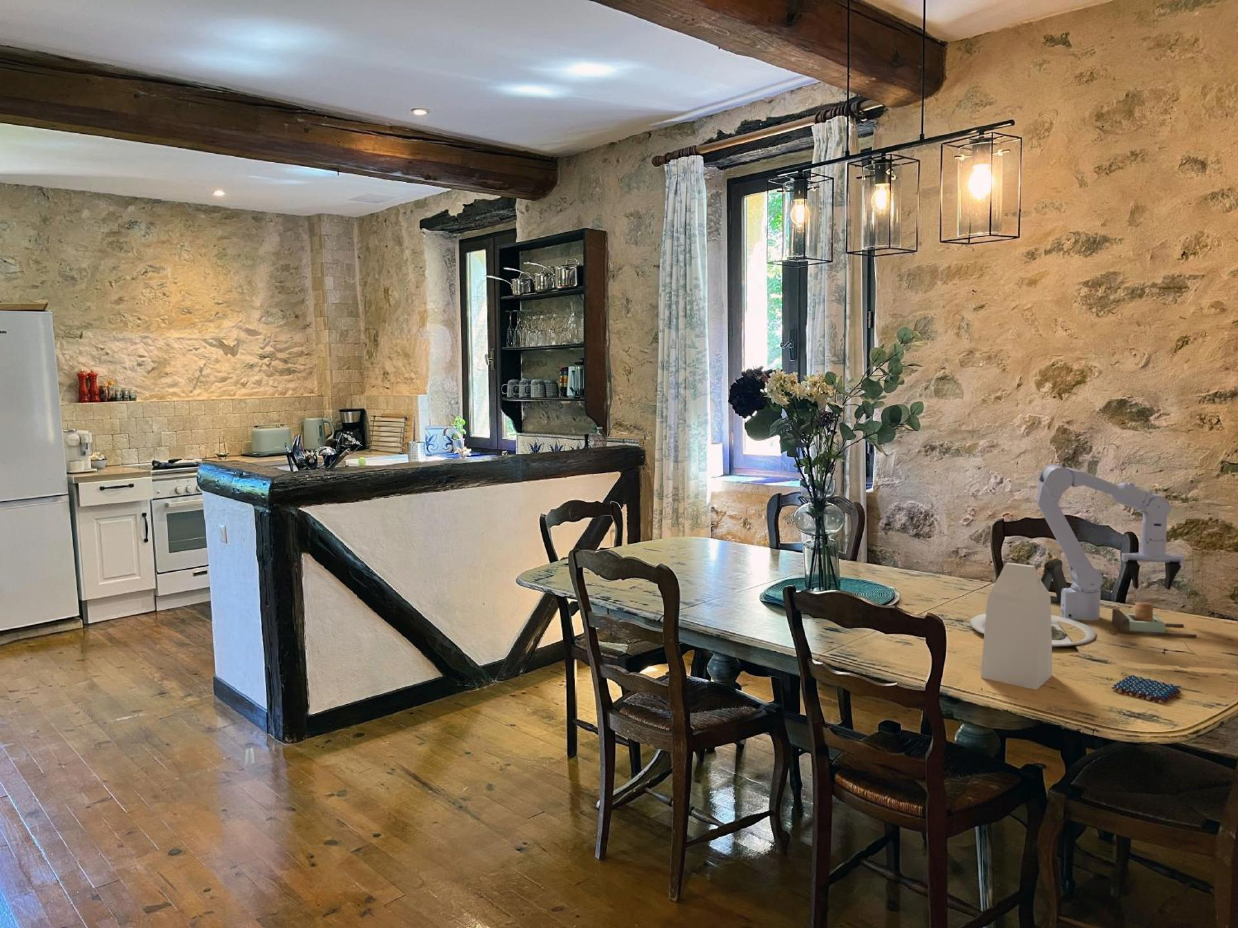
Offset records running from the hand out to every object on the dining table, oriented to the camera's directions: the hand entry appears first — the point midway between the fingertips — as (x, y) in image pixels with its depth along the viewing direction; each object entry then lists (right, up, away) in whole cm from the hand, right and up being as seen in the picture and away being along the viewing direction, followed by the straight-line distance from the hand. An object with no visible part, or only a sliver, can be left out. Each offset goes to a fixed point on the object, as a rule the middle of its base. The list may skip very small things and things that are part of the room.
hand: (1151, 588), depth 234 cm
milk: (-53, -15, -36) cm, 66 cm away
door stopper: (-13, -8, +28) cm, 31 cm away
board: (-5, -11, -11) cm, 16 cm away
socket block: (-7, -10, -7) cm, 14 cm away
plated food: (-35, -12, -4) cm, 37 cm away
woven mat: (-30, -16, -47) cm, 58 cm away
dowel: (-7, -10, -7) cm, 14 cm away
